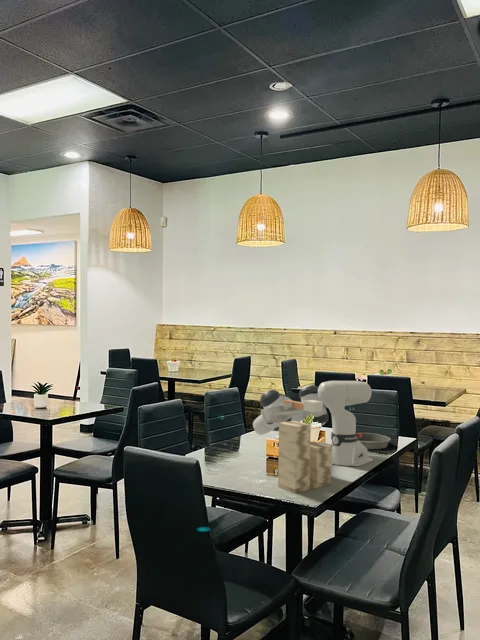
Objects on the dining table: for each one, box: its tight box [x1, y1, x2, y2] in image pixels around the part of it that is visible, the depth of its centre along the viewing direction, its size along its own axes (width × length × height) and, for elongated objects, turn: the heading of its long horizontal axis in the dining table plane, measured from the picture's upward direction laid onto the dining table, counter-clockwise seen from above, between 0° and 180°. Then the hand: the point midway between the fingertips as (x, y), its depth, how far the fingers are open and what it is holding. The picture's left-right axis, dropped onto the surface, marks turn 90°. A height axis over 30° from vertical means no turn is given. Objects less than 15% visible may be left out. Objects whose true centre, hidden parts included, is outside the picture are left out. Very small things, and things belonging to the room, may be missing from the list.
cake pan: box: [356, 432, 392, 450], centre depth 310 cm, size 25×25×4 cm
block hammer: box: [284, 399, 323, 412], centre depth 241 cm, size 5×20×4 cm, turn 37°
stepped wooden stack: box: [277, 421, 332, 494], centre depth 231 cm, size 20×10×26 cm, turn 127°
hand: (295, 403), depth 244 cm, fingers closed on block hammer, 2 cm apart
